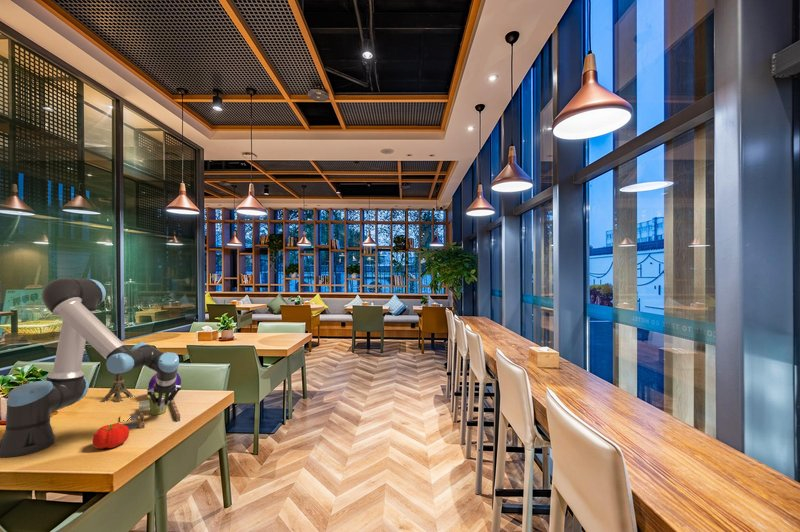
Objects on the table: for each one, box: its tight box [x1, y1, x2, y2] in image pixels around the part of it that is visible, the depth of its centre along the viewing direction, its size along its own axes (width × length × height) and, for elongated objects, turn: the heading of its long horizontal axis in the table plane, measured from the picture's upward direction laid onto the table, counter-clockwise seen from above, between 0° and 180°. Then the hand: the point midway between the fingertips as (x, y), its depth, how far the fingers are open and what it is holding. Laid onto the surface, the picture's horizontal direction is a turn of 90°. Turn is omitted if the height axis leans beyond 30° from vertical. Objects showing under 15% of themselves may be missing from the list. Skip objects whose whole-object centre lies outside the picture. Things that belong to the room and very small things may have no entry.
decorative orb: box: [147, 372, 182, 393], centre depth 193 cm, size 15×15×15 cm
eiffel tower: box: [99, 373, 134, 403], centre depth 191 cm, size 11×11×25 cm
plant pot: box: [147, 392, 171, 416], centre depth 170 cm, size 9×9×9 cm
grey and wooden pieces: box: [121, 398, 181, 430], centre depth 165 cm, size 29×22×4 cm
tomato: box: [92, 422, 130, 450], centre depth 135 cm, size 11×11×8 cm
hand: (161, 408), depth 167 cm, fingers closed
